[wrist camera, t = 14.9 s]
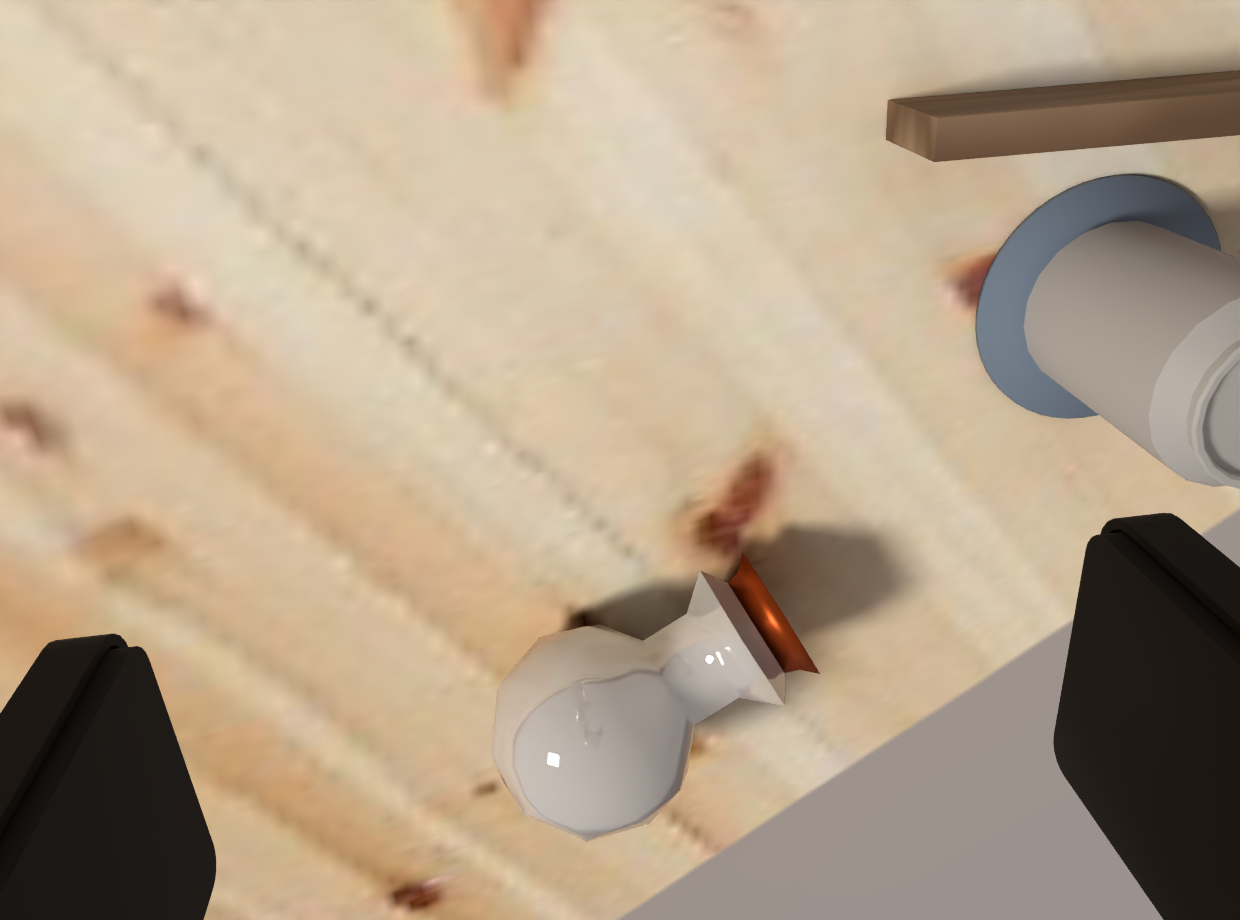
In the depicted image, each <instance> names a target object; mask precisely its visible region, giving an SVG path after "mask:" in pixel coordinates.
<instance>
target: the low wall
mask: <svg viewBox="0 0 1240 920" xmlns="http://www.w3.org/2000/svg"><path fill="white" fill-rule="evenodd" d="M1234 135H1240V71H1229V72H1217V73H1205V74H1193V75H1182V76H1170V77H1158V78H1146V79H1134V80H1122V81H1110V82H1098V83H1086V84H1074V85H1062V86H1050V87H1038V88H1026V89H1014V90H1002V91H991V92H979V93H967V94H955V95H943V96H931V97H919V98H907V99H895V100H888V110H887V128H886V140H888V141H890V142H892V143H894V144H897V145H899V146H901V147H903V148H905V149H907V150H909V151H912V152H914V153H916V154H918V155H920V156H922V157H925V158H927V159H929V160H931V161H933V162H940V161H951V160H962V159H974V158H985V157H996V156H1008V155H1019V154H1030V153H1042V152H1053V151H1064V150H1076V149H1087V148H1098V147H1110V146H1121V145H1132V144H1144V143H1155V142H1166V141H1178V140H1189V139H1200V138H1212V137H1223V136H1234Z"/></svg>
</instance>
